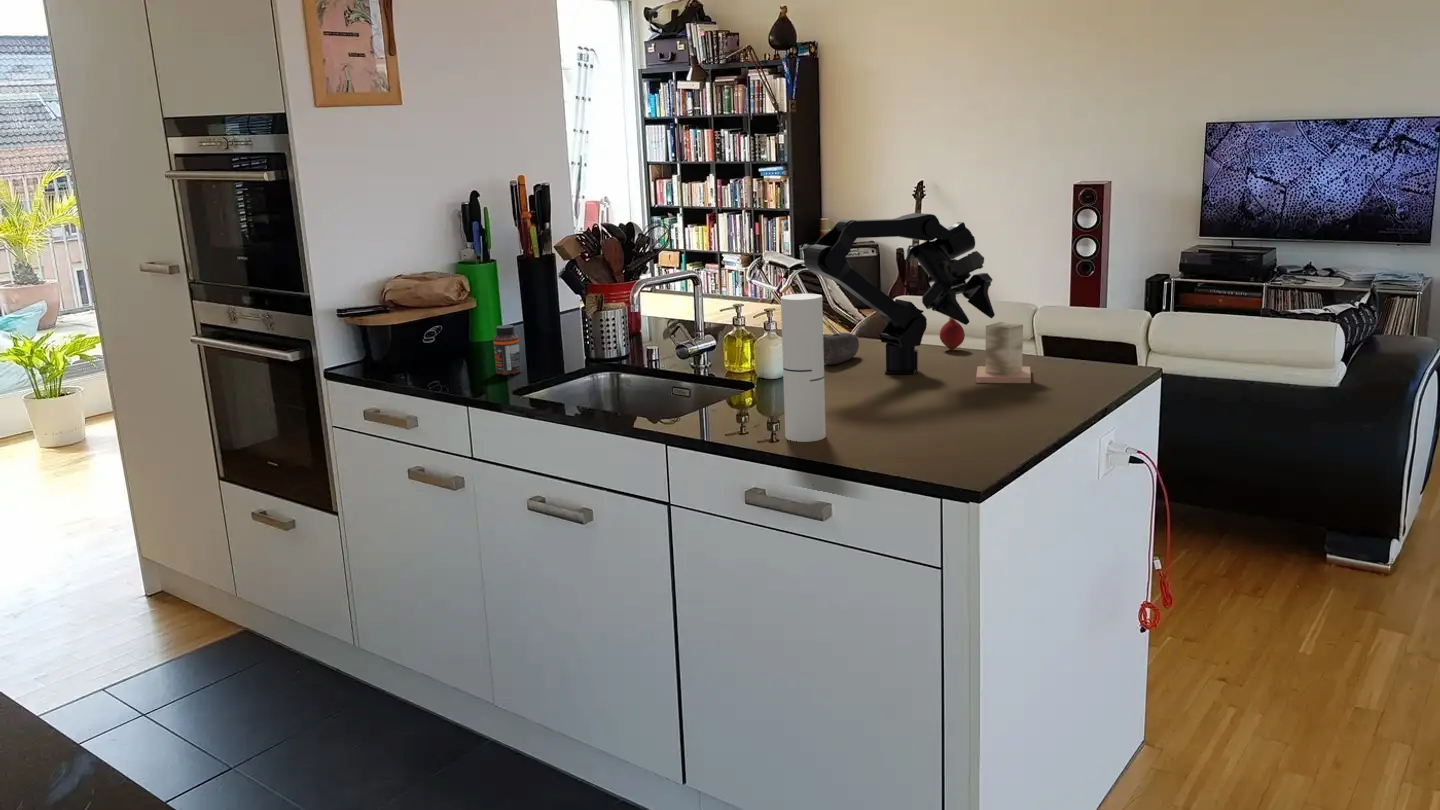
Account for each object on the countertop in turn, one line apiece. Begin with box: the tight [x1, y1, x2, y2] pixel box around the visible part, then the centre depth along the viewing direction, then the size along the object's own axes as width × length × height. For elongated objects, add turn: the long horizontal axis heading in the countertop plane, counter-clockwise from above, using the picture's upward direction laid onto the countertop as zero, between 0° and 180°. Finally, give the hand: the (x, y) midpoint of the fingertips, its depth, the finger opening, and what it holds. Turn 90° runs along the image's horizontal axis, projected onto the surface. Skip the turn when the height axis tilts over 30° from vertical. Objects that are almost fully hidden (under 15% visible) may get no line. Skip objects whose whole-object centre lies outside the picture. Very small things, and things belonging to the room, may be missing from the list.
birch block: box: [984, 321, 1024, 376], centre depth 237 cm, size 6×6×10 cm
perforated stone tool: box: [823, 332, 860, 366], centre depth 261 cm, size 15×5×7 cm, turn 140°
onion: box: [939, 317, 966, 351], centre depth 268 cm, size 6×6×8 cm
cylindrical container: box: [780, 293, 826, 443], centre depth 196 cm, size 7×7×25 cm
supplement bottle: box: [492, 324, 522, 376], centre depth 266 cm, size 6×6×11 cm
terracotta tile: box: [975, 365, 1032, 384], centre depth 238 cm, size 11×11×1 cm
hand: (980, 320), depth 239 cm, fingers open, 9 cm apart
